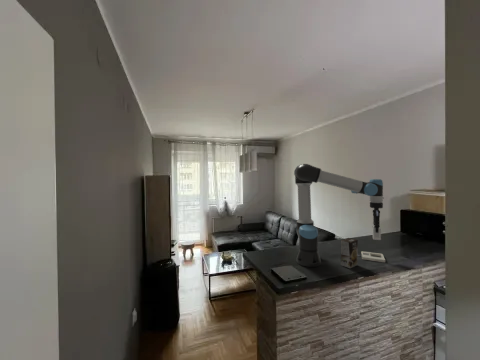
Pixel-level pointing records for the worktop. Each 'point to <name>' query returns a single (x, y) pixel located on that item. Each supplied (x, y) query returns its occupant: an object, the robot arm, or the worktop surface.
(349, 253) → the coffee box
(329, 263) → the worktop surface
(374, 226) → the charger
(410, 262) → the worktop surface
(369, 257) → the outlet plate
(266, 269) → the worktop surface
